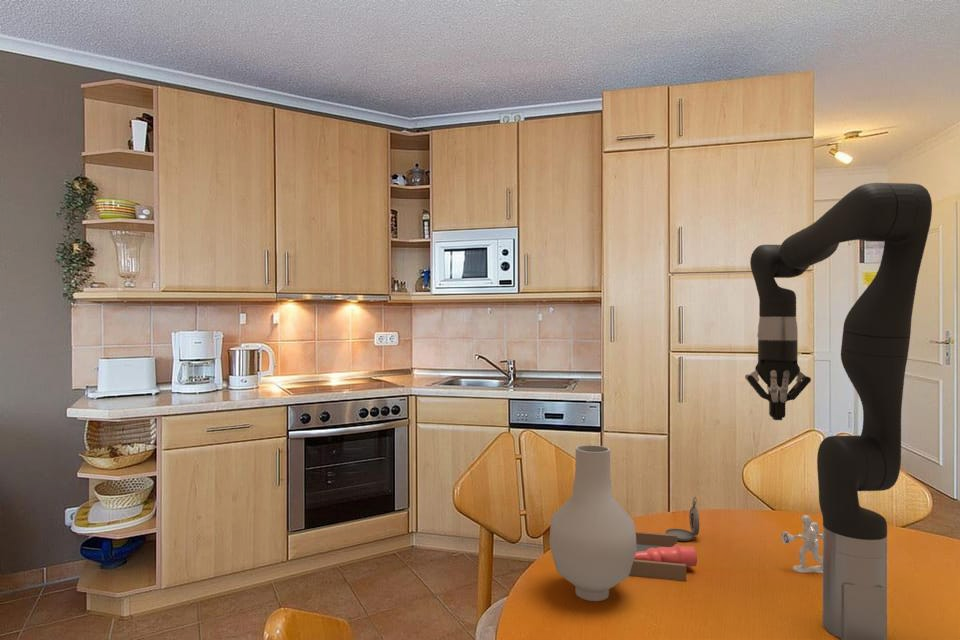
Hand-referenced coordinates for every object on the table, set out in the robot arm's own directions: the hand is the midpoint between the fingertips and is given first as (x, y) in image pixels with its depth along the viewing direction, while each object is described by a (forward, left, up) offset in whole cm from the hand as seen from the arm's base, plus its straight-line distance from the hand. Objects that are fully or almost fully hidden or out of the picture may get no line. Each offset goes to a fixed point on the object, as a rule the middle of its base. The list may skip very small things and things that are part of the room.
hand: (777, 419), depth 124 cm
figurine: (+1, -6, -32) cm, 33 cm away
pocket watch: (+15, +17, -32) cm, 39 cm away
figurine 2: (-4, +17, -29) cm, 34 cm away
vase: (-20, +38, -32) cm, 54 cm away
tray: (-1, +28, -32) cm, 43 cm away
